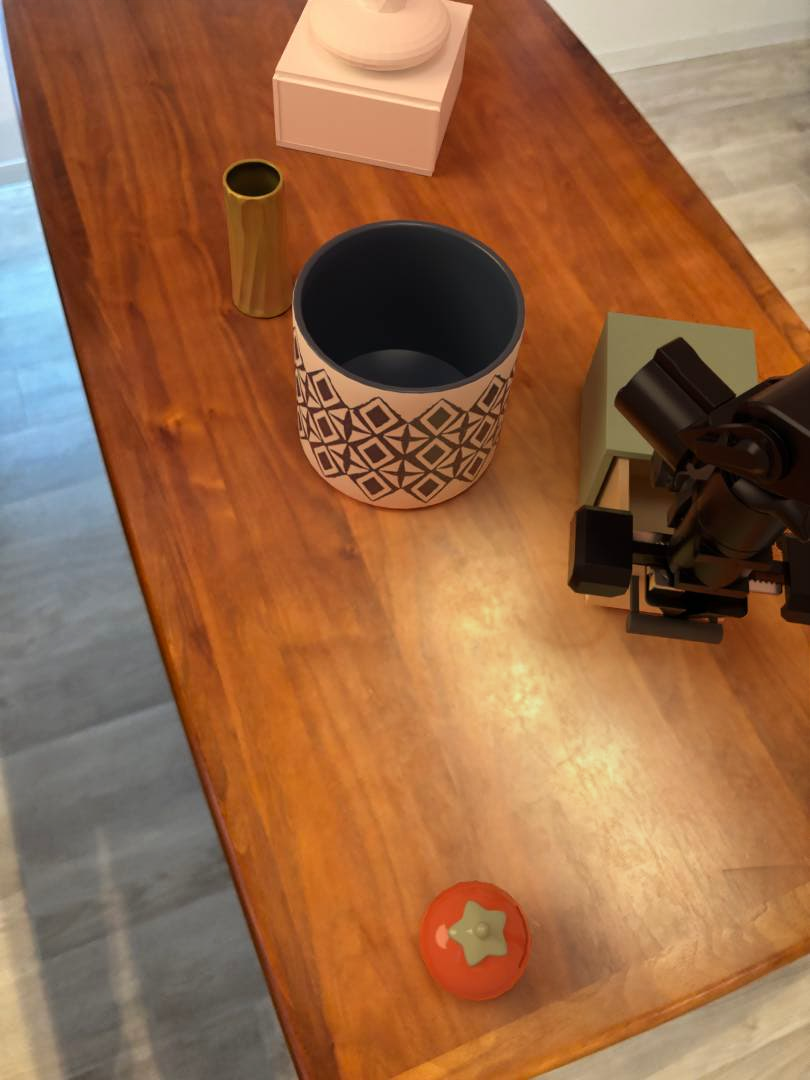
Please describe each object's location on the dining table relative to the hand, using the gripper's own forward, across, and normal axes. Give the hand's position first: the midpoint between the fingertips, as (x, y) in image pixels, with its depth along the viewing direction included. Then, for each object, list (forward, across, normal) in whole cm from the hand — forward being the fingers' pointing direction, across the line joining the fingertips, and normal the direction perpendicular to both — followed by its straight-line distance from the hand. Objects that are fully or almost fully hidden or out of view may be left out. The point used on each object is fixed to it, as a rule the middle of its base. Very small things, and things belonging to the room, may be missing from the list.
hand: (667, 613), depth 78 cm
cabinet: (+5, 0, -18) cm, 19 cm away
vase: (+6, +38, -32) cm, 50 cm away
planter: (+6, +23, -18) cm, 30 cm away
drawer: (+4, 0, -6) cm, 8 cm away
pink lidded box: (+7, +31, -62) cm, 70 cm away
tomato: (+4, +13, +26) cm, 29 cm away
